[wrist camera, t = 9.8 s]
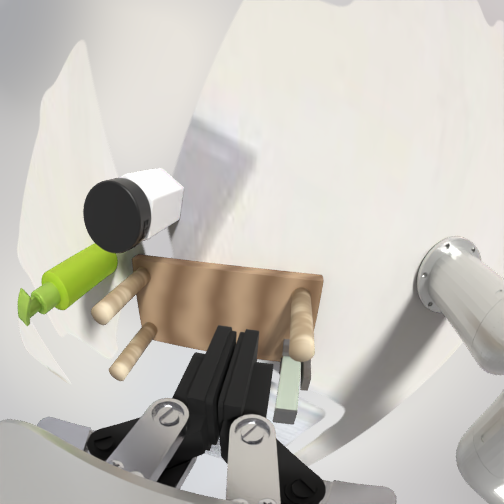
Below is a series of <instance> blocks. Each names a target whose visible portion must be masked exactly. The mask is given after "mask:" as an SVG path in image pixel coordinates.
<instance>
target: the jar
mask: <svg viewBox="0 0 504 504" xmlns="http://www.w3.org/2000/svg"><path fill="white" fill-rule="evenodd" d="M183 192H184V187H182V186H181V185H180V184H179V183H178V182H177V181H176V180H175V179H174V178H173V177H171V176H170V175H169V174H168V173H167V172H166V171H165V170H164V169H163V168H156V169H150V170H145V171H138V172H133V173H128V174H125V175H123V176H121V177H119V178H115V179H110V180H106V181H102V182H100V183H98V184H96V185H95V186H94V187H93V188H92V189H91V190H90V191H89V193H88V195H87V197H86V200H85V203H84V211H83V213H84V222H85V226H86V229H87V231H88V233H89V235H90V237H91V238H92V240H93V241H94V242H95V243H96V244H97V245H98V246H99V247H100V248H101V249H103V250H105V251H107V252H110V253H123V252H126V251H128V250H130V249H132V248H133V247H135V246H136V245H138V244H139V243H140V242H141V241H144V240H147V239H149V238H151V237H152V236H154V235H156V234H157V233H158V232H160V231H162V230H163V229H165V228H166V227H168V226H170V225H171V224H173V223H174V222H176V221H177V220H179V219H180V213H181V206H182V199H183Z"/></svg>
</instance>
